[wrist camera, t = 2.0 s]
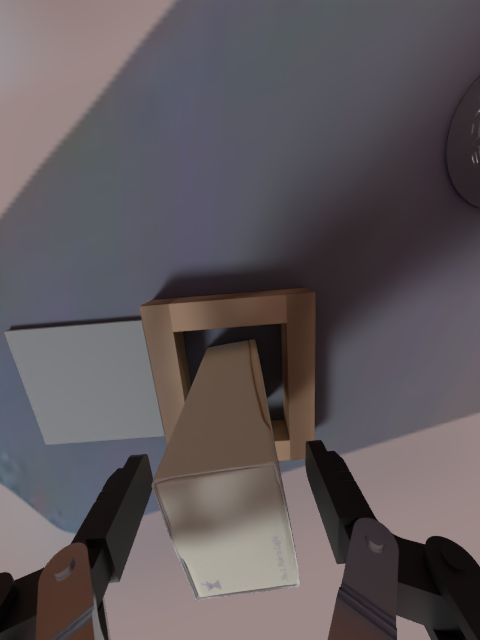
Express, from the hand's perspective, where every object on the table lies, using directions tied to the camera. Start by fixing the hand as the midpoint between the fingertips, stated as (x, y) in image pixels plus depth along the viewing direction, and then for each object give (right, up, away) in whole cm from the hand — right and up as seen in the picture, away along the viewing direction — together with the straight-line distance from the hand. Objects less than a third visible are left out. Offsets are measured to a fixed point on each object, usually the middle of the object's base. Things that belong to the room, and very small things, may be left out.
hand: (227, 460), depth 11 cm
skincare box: (0, +3, +8) cm, 9 cm away
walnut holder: (0, +2, +8) cm, 9 cm away
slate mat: (-12, +1, +8) cm, 15 cm away
